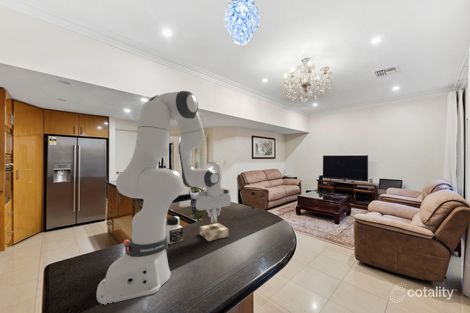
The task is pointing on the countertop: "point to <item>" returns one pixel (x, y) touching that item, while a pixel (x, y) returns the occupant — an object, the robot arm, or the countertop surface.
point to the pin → (214, 215)
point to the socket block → (214, 231)
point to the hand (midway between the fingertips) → (214, 215)
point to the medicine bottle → (174, 230)
